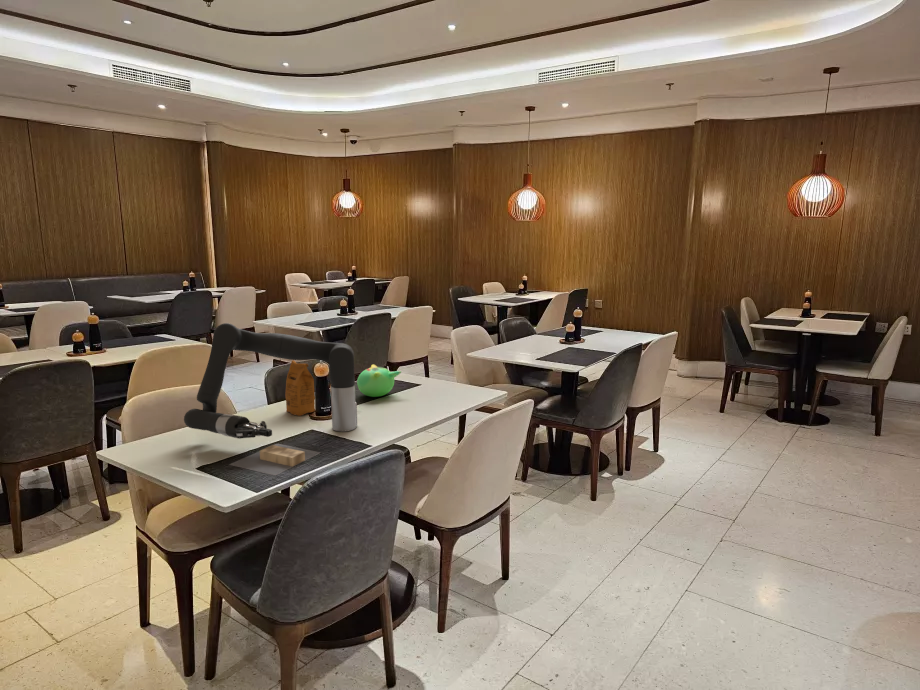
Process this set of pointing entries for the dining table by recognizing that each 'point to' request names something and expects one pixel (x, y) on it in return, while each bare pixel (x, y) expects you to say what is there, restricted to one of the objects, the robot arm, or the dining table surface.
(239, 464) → the charcoal placemat
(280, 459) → the oak card block
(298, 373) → the coffee package
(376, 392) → the toy bird
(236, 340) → the robot arm
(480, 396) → the dining table surface
